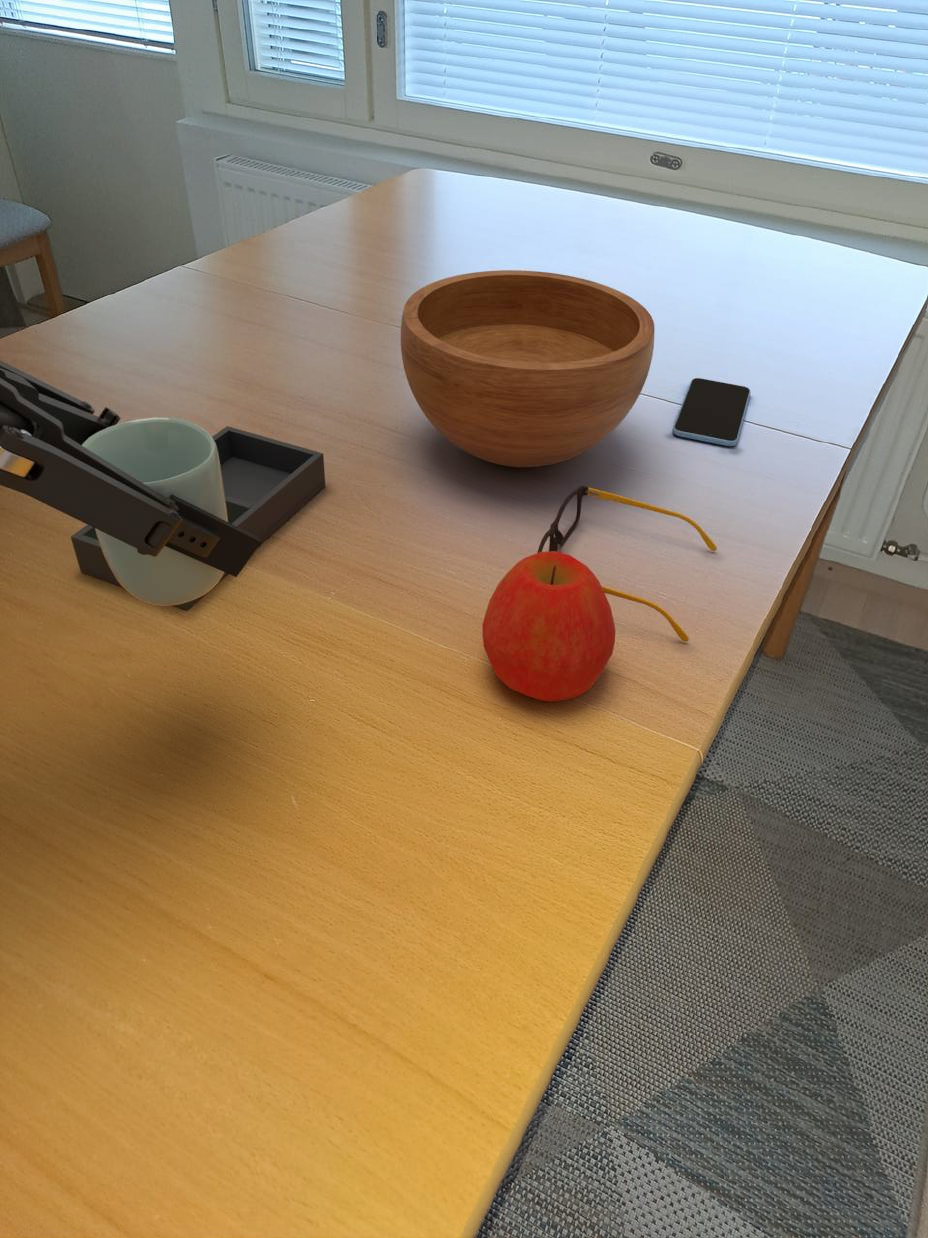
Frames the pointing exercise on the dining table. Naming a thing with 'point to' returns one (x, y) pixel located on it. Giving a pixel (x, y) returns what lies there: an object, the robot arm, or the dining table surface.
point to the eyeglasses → (609, 496)
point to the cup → (168, 465)
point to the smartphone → (712, 412)
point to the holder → (240, 492)
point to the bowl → (525, 362)
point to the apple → (549, 627)
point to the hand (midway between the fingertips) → (217, 522)
